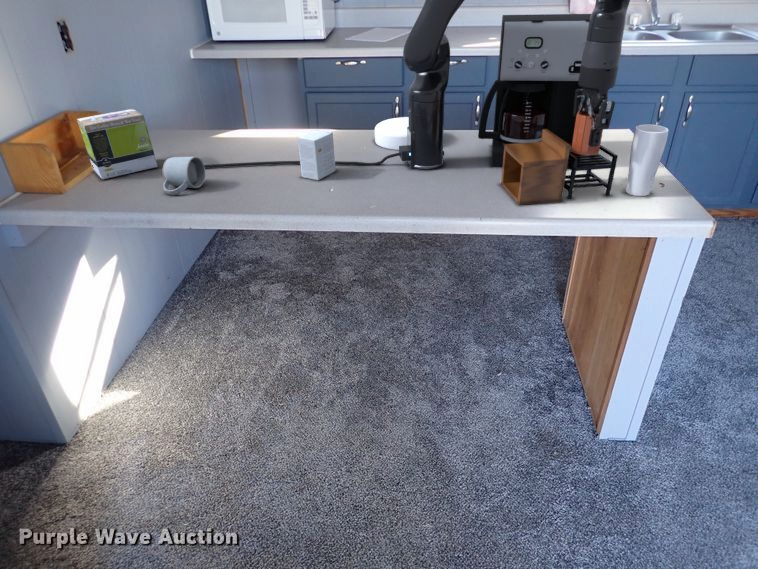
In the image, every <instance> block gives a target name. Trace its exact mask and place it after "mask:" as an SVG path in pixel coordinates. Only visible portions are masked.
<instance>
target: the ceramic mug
mask: <svg viewBox="0 0 758 569" xmlns="http://www.w3.org/2000/svg"><path fill="white" fill-rule="evenodd" d="M204 165H205V164H204V162H203V160H202V159H201V158H200V157H198V156H172V157H169V158H167V159H166V160H164V162H163V165H162V169H161V170H162V176H163V179H164V182H163V185H162V188H163V190H164V191H165V193H166V194H167V195H169V196H177V195H180V194H181V193H183V192H184V191H185V190H186V189H188V188H189V189H200V188H201V187H202V186H203V184H204V183H205V180H206V168H205V167H204ZM169 186H173V187H177V188H174V189H172V190H170V189H168V188H169Z"/></svg>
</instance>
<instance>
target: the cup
mask: <svg viewBox="0 0 758 569" xmlns="http://www.w3.org/2000/svg"><path fill="white" fill-rule="evenodd" d="M598 114H599V113H598ZM598 114H595V115H598ZM605 121H606V119H604V123H605ZM596 123H597V118H596ZM590 131H591V119H589V114H588V113H586V114H583V115H582V113H581V112H580V111H579V112H577V116H576V123H575V129H574V135H573V142H572V149H571V151H572V152H573V153H576V154H580V155H595V154H598V153H599V154H600V145H602V138H603V132H604V129H602V131H601V137H600V142H599V145H598V146H597V147H590V146H589V145H588V143H589V137H590Z"/></svg>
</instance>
